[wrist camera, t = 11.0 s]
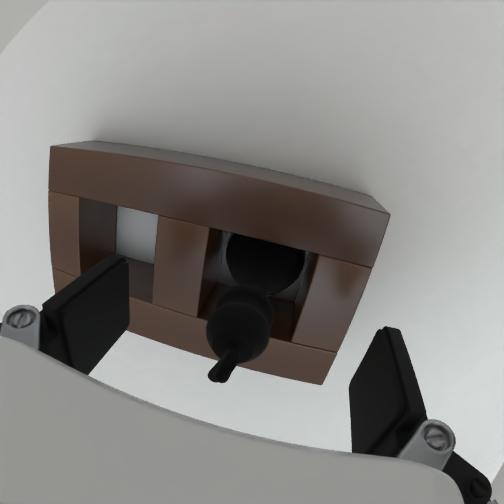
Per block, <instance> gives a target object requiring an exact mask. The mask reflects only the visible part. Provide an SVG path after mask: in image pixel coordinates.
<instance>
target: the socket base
mask: <svg viewBox="0 0 504 504" xmlns="http://www.w3.org/2000/svg"><path fill="white" fill-rule="evenodd" d="M48 189H49V191H48V208H49V236H50V251H51V263H52V271H53V280H54V288H55V294H56V293H58V292H59V291H60V290H61V289H63V288H64V287H65V286H67V285H68V284H70V283H71V282H72V281H74V280H75V279H76V278H78V277H79V276H80V275H82V274H83V273H84V272H86V271H87V270H89V269H90V268H91V267H93V266H94V265H96V264H97V263H98V262H100V261H101V260H103V259H104V258H106V257H107V256H108V255H110V254H113V255H117V254H115V245H116V216H117V205H118V206H122V207H127V208H131V209H135V210H140V211H144V212H148V213H153V214H157V215H159V216H158V225H157V236H156V248H155V263H154V265H151V264H147V263H144V262H140V261H137V260H134V259H130V258H127V257H124V256H120V255H117V256H120V257H123V258H125V259H126V263H128V264H129V308H130V323H129V326H128V328H127V329H126V330H127V331H130V332H133V333H135V334H138V335H141V336H143V337H146V338H149V339H152V340H155V341H158V342H160V343H163V344H166V345H169V346H172V347H175V348H178V349H181V350H185V351H188V352H191V353H194V354H197V355H201V356H204V357H207V358H211V359H214V360H218V361H219V360H220V358H219V357H217V355H216V354H215V353H214V351H213V350H212V349H211V347H210V346H209V344H208V341H207V338H206V325H207V322H208V319H209V318H210V316H211V315H212V313H213V312H214V311H215V310H216V305H217V302H218V300H219V298H220V297H221V296H222V295H223V294H224V293H225V292H226V291H228V290H229V289H231V288H233V287H229V286H226V285H222V284H218V277H219V271H220V265H221V259H222V254H223V248H224V242H225V236H226V231H228V232H232V233H236V234H240V235H244V236H249V237H253V238H257V239H261V240H265V241H269V242H273V243H277V244H281V245H285V246H289V247H293V248H297V249H301V250H305V251H309V252H310V253H309V257H308V260H307V263H306V267H305V270H304V274H303V277H302V280H301V284H300V287H299V290H298V294H297V297H296V300H295V303H292V302H288V301H284V300H280V299H276V298H272V297H268V296H267V297H268V298H269V300H270V301H271V303H272V306H273V309H274V321H273V324H272V326H271V328H270V329H269V330H270V339H269V343H268V345H267V348H266V349H265V351H264V352H263V353H262V354H261V355H260V356H258V357H257V358H256V359H254V360H252V361H249V362H245V363H241V364H237V365H236V366H239V367H243V368H247V369H251V370H255V371H259V372H263V373H267V374H271V375H275V376H279V377H284V378H288V379H293V380H298V381H302V382H307V383H312V384H317V385H322V384H323V382H324V380H325V378H326V376H327V374H328V372H329V370H330V368H331V366H332V364H333V361H334V359H335V357H336V355H337V352H338V351H339V348H340V346H341V344H342V342H343V340H344V337H345V335H346V333H347V330H348V328H349V326H350V324H351V321H352V319H353V316H354V314H355V312H356V309H357V307H358V304H359V302H360V299H361V297H362V294H363V292H364V289H365V287H366V284H367V281H368V279H369V276H370V273H371V271H372V268H373V266H374V263H375V260H376V257H377V255H378V252H379V249H380V246H381V243H382V240H383V237H384V234H385V231H386V228H387V225H388V222H389V219H390V213H389V212H388V211H387V210H385V209H384V208H383V207H382V206H381V205H380V204H379V203H378V202H377V201H376V200H375V199H374V198H373V197H372V196H369V195H366V194H362V193H359V192H355V191H352V190H348V189H345V188H341V187H338V186H334V185H330V184H326V183H323V182H319V181H315V180H311V179H307V178H303V177H299V176H295V175H291V174H287V173H282V172H278V171H274V170H269V169H265V168H260V167H256V166H251V165H246V164H241V163H237V162H232V161H227V160H221V159H216V158H211V157H205V156H200V155H194V154H188V153H182V152H176V151H170V150H163V149H157V148H150V147H143V146H135V145H128V144H120V143H111V142H102V141H84V142H75V143H68V144H60V145H53V146H51V147H50V160H49V188H48Z"/></svg>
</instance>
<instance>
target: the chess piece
mask: <svg viewBox="0 0 504 504" xmlns="http://www.w3.org/2000/svg"><path fill="white" fill-rule="evenodd" d="M226 260H227V265H228V268H229V270H230V272H231V275H232V277H233V278H234V280H235V281H236V282H237V283H238V285H239V286H237V287H234V288H231V289H229V290H228V291H226V292H225V293H224V294H223V295H222V296H221V297H220V298H219V300H218V302H217V305H216V310H215V311H214V312H213V313H212V315H211V316H210V318H209V319H208V322H207V325H206V338H207V341H208V344H209V346H210V347H211V349H212V350H213V351H214V353H215V354H216V355H217V357H219V358H220V360H219V361H218V362H217V363H216V365H215V366H214V367H213V368H212V369H211V370H210V371H209V373H208V378H209V379H210V380H211V381H213V382H220V383H225V382H226V381H227V380H228V379H229V377H230V375H231V373H232V371H233V370H234V368H235V367H236V365H237V364H241V363H245V362H249V361H252V360H254V359H256V358H257V357H258V356H260V355H261V354H262V353H263V352H264V351H265V349H266V348H267V345H268V343H269V339H270V330H269V329H270V328H271V326H272V324H273V321H274V309H273V306H272V303H271V301H270V300H269V298H268V297H267V295H271V294H275V293H278V292H280V291H282V290H284V289H286V288H288V287H289V286H290V285H292V284H293V283H294V282H295V281H296V280H297V278H298V277H299V275H300V273H301V271H302V268H303V264H304V251H303V250H301V249H297V248H293V247H289V246H285V245H281V244H277V243H273V242H269V241H265V240H261V239H257V238H253V237H249V236H244V235H240V234H236V233H233V235H232V236H231V238H230V240H229V242H228V245H227V250H226Z"/></svg>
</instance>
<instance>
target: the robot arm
mask: <svg viewBox="0 0 504 504" xmlns="http://www.w3.org/2000/svg"><path fill="white" fill-rule="evenodd" d="M42 307H43V310H41V311H40V312H39V311H38V309H37V308H35V307H34V306H30V305H18V306H15V307H13V308H11V309H10V310H8V311H7V312H6V313H5V315H4V317H3V321H2V323H0V504H498V503H497V501H496V500H495V499H494V500H493V501H492V502H491V500H490V497H491V493H492V488H491V484H490V482H489V480H488V479H487V478H486V477H485V476H484V475H483V474H482V473H481V472H479V471H478V470H477V469H476V468H474V467H473V466H472V465H470V464H469V463H468V462H467V461H465V460H464V459H463V458H462V457H460V456H459V455H458V454H456V453H455V452H454V451H453V449H454V447H455V444H456V441H455V436H454V433H453V431H452V430H451V428H450V427H449V426H448V425H446V424H445V423H443V422H441V421H439V420H435V419H430V420H428V419H427V415H426V409H425V406H424V402H423V399H422V395H421V392H420V389H419V385H418V382H417V379H416V376H415V372H414V369H413V366H412V363H411V360H410V357H409V354H408V351H407V348H406V345H405V342H404V340H403V337H402V334H401V331H400V330H399V329H396V328H391V327H386V326H385V327H384V328H383V329H382V330H381V329H379V330H378V331H377V332H376V334H375V336H374V338H373V340H372V342H371V344H370V346H369V348H368V350H367V352H366V354H365V356H364V358H363V360H362V362H361V363H360V365H359V367H358V369H357V371H356V373H355V374H354V376H353V378H352V380H351V382H350V385H349V400H350V417H351V438H352V453H350V452H342V451H335V450H328V449H321V448H315V447H309V446H303V445H297V444H292V443H286V442H281V441H277V440H272V439H267V438H263V437H259V436H255V435H250V434H246V433H242V432H239V431H235V430H231V429H227V428H224V427H220V426H217V425H213V424H210V423H207V422H204V421H200V420H197V419H194V418H191V417H188V416H185V415H182V414H179V413H176V412H173V411H171V410H168V409H165V408H162V407H160V406H157V405H154V404H152V403H149V402H147V401H144V400H142V399H139V398H137V397H134V396H132V395H129V394H127V393H125V392H122V391H120V390H118V389H115V388H113V387H111V386H109V385H107V384H104V383H102V382H100V381H98V380H96V379H94V378H92V377H90V376H88V375H89V373H90V372H91V371H92V370H93V369H94V367H95V366H96V365H97V364H98V362H99V361H100V360H101V359H102V358H103V357H104V355H105V354H106V353H107V352H108V351H109V349H110V348H111V347H112V346H113V345H114V343H115V342H116V341H117V340H118V339H119V338H120V336H121V335H122V334H123V333H124V332H125V331H126V329H127V328H128V326H129V323H130V308H129V264H128V263H126V259H125V258H123V257H120V256H117V255H113V254H110V255H108V256H107V257H106V258H104V259H103V260H101V261H100V262H98V263H97V264H96V265H94V266H93V267H91V268H90V269H89V270H87V271H86V272H84V273H83V274H82V275H80V276H79V277H78V278H76V279H75V280H74V281H72V282H71V283H70V284H68V285H67V286H65V287H64V288H63V289H61V290H60V291H59V292H58V293H56V294H55V295H54V296H52V297H51V298H50V299H48V300H47V301H46V302H45V303H43V304H42Z"/></svg>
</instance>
